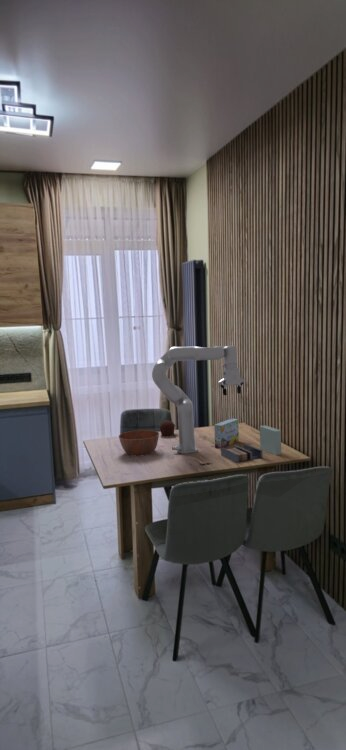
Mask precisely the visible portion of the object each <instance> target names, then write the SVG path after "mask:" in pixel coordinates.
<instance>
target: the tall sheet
mask: <svg viewBox="0 0 346 750" xmlns="http://www.w3.org/2000/svg"><path fill="white" fill-rule="evenodd" d="M259 447H260V448H259V449H260V450H262V451H264V452H267V453H270V454H272V455H274V456H278V455H279V456H280V455H282V430H281V429H278V428H275V427H271V426H268V425H260V426H259Z"/></svg>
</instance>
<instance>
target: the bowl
mask: <svg viewBox="0 0 346 750" xmlns="http://www.w3.org/2000/svg"><path fill="white" fill-rule="evenodd" d="M159 435H160V433H159V432H158V431H156V430H152V429H151V430H150V429H136V430H130V431H126V432H122V433H120V434H118V439H119V442H120V444H121V447H122V449H123V451H124V452H125V454H127V455H128V454H129V456H131V455H136V456H135V457H142V456H141V455H144V456H147V455H151V454H152V453H154V452H155V450H156V448H157V447H158V443H159V437H160V436H159Z"/></svg>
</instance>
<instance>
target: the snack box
mask: <svg viewBox="0 0 346 750" xmlns="http://www.w3.org/2000/svg"><path fill="white" fill-rule="evenodd" d="M213 426H214V427H213V428H214V448H215V449H221V448H222V447H223V448H226V447H229V446H231V445H233V444H236V443H238V442H239V441H240V439H239V437H240V436H239V434H240V432H239V418H238V419H237V418H230V419H227V420H223V421H221V422H218V423H216V424H214V425H213Z"/></svg>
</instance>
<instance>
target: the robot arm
mask: <svg viewBox="0 0 346 750" xmlns="http://www.w3.org/2000/svg"><path fill="white" fill-rule="evenodd" d="M237 351H238V349H237V346H236V345H226V346H225V345H224V346H223V345H214V346H211V347H210V346H209V347H205V346H204V347H203V346H202V347H201V346H197V345H196V346H195V345H191V346H175V345H174V346H171V347H170V348H169V349H168V350H167V351H166V352H165V353H164V354H162V356H161V357H159V358H158V360H157V361H156V362H155V364H154V365H153V368H152V371H151V372H152V374H151V377H152V380H153V382H154V384H155V385H156V387H157V388H158V389H159V390H160V392H161V393H162V394H163V395H164V396H165V398H166V399H167V400H168V401H169V402H170V403H172V404H173V405H174V406H176V408H177V423H178V427H177V428H178V444H177V445H176V446H172V447H171V448H172V451H174V450H175V451H176V452H177V453H179V454H182V455H183V454H186V455H191V454H194V453H197V452H198V448H197V447H196V443H195V442H196V440H195V422H194V421H195V420H194V419H195V418H194V415H195V414H194V404H193V401H192V400H191V398H189V396H188V395H187V394H186V393H185V392H184V391H183V389H181V387H179V386H178V385H175V384H174V383H173V382H172V380H171V379H170V378H169V377H168V375H167V373H168V371H169V369H170V368H171V367H172V366H173V365H174V364H175V363H176V362H186V361H215V360H216V361H217V360H222V359H223V358H224V360H223V361H224V364H223V365H222V367H223V368H224V369H223V372H222V373H223V374H222V379H220V380H219V381H218V385H219V387H220V388H221V389H222V395H223V396H227V395H228V393H227V391H228V390H227V387H229V386H236V393H237V394H239V395H240V394H241V393H242V386H243V384H244V383H245V378H242V377H241V372H240V368H239V367H238V352H237Z"/></svg>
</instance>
